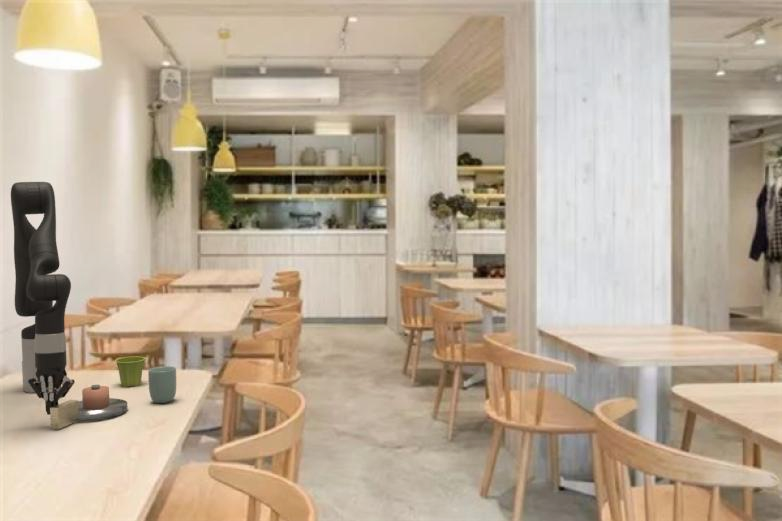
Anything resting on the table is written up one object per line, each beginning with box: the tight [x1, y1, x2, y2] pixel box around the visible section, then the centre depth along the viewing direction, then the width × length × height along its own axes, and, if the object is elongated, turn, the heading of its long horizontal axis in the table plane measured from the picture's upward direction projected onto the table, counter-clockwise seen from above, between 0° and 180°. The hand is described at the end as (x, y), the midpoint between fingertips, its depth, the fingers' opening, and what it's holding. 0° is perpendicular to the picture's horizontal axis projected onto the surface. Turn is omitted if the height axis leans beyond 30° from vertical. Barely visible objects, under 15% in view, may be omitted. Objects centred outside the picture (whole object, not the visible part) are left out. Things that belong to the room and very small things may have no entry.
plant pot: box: [114, 355, 146, 388], centre depth 233 cm, size 9×9×9 cm
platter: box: [49, 397, 128, 430], centre depth 195 cm, size 18×25×6 cm
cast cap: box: [81, 384, 110, 410], centre depth 199 cm, size 7×7×6 cm
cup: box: [147, 365, 177, 404], centre depth 211 cm, size 8×8×10 cm
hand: (52, 413), depth 187 cm, fingers closed
